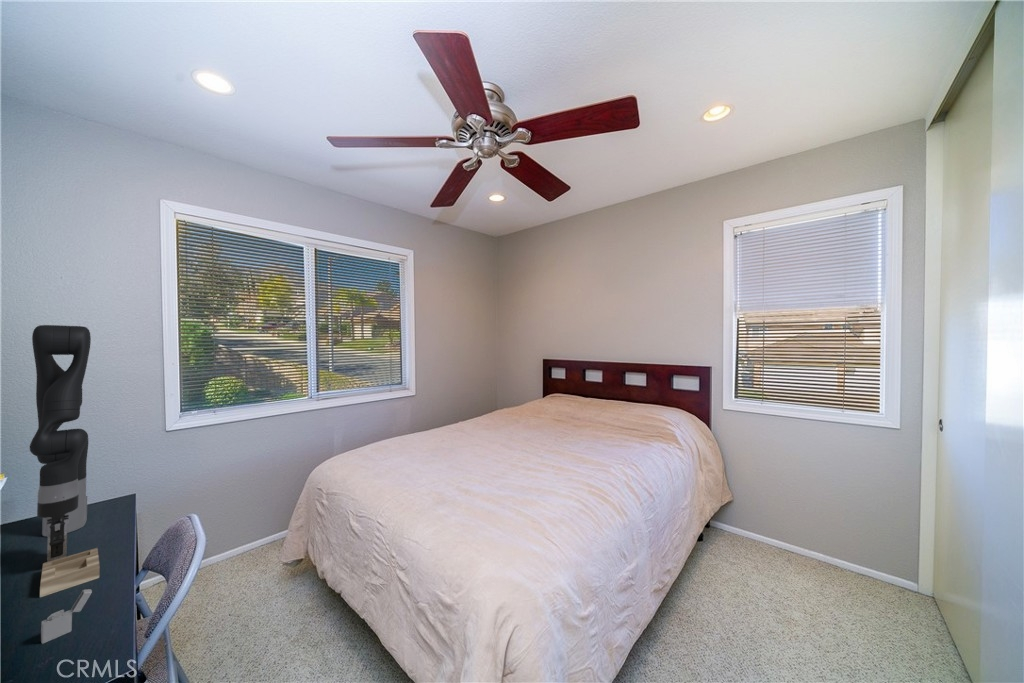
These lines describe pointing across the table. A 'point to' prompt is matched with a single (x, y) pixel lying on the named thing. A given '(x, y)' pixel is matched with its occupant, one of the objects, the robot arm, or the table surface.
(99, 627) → the table surface
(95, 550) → the holder
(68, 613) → the lighter
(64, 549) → the grey rectangular block
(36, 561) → the table surface
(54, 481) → the robot arm
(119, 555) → the table surface
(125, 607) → the table surface
